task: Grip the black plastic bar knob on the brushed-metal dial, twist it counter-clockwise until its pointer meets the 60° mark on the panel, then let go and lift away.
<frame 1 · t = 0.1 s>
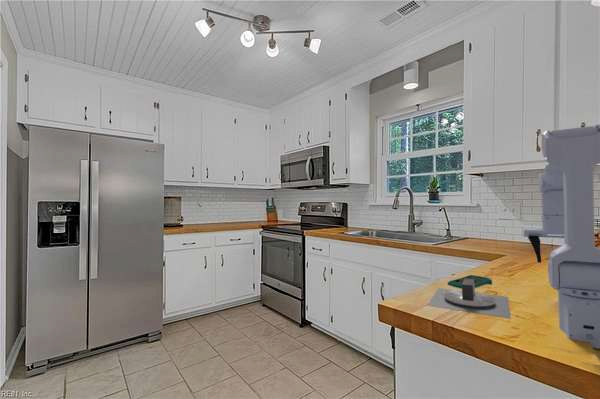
hand: (556, 263, 85), 10 cm above the countertop, fingers open, 7 cm apart
digital multimeter: (470, 288, 99), on the countertop
dial panel: (469, 305, 81), on the countertop
dial: (468, 290, 82), point 4 cm above the countertop, hinge at 0.0°
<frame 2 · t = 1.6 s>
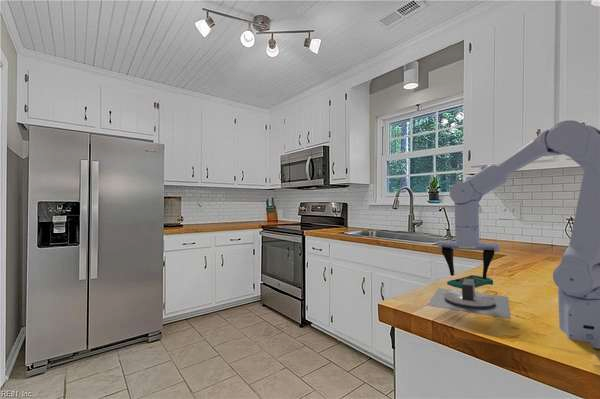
hand: (468, 276, 82), 8 cm above the countertop, fingers open, 7 cm apart
nothing on the countertop moved.
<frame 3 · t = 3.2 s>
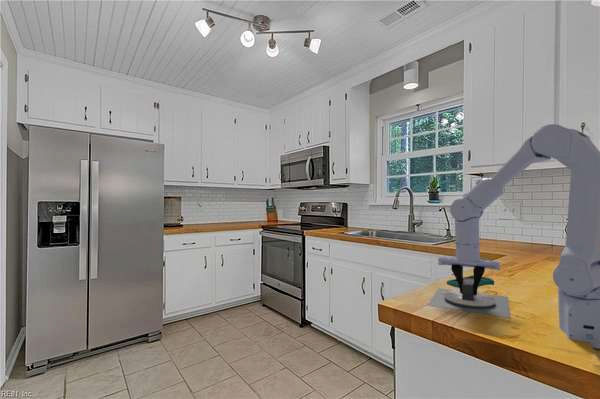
hand: (468, 293, 82), 3 cm above the countertop, fingers closed on dial, 2 cm apart
dial: (468, 290, 82), point 4 cm above the countertop, hinge at 0.0°, touching gripper
everything else where it was.
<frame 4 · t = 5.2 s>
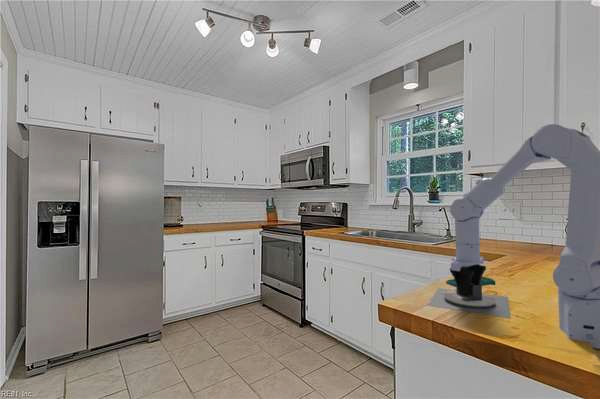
hand: (468, 293, 82), 3 cm above the countertop, fingers closed on dial, 5 cm apart
dial: (468, 290, 82), point 4 cm above the countertop, hinge at 38.7°, touching gripper
everything else where it was.
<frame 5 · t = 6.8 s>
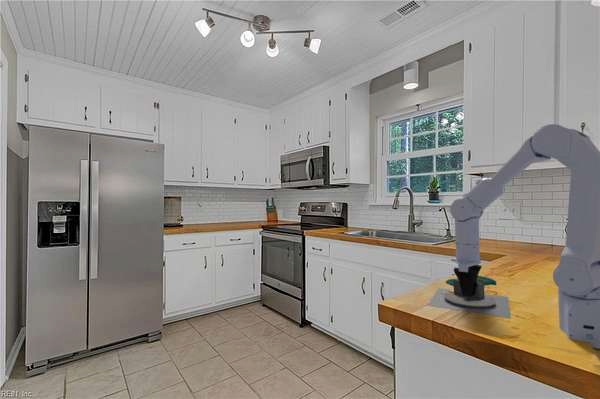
hand: (468, 293, 82), 3 cm above the countertop, fingers closed on dial, 4 cm apart
dial: (468, 290, 82), point 4 cm above the countertop, hinge at 62.6°, touching gripper
everything else where it was.
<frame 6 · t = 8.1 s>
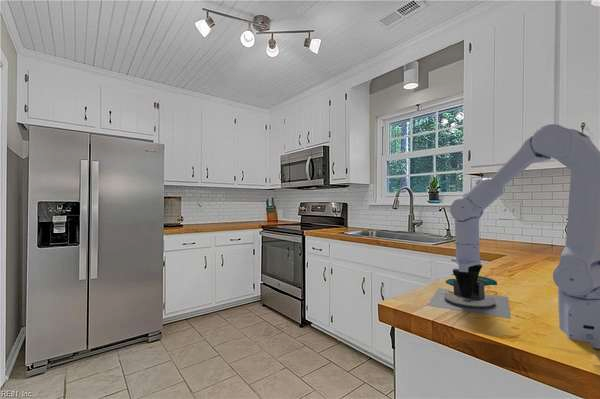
hand: (468, 293, 82), 3 cm above the countertop, fingers open, 7 cm apart
dial: (468, 290, 82), point 4 cm above the countertop, hinge at 63.2°
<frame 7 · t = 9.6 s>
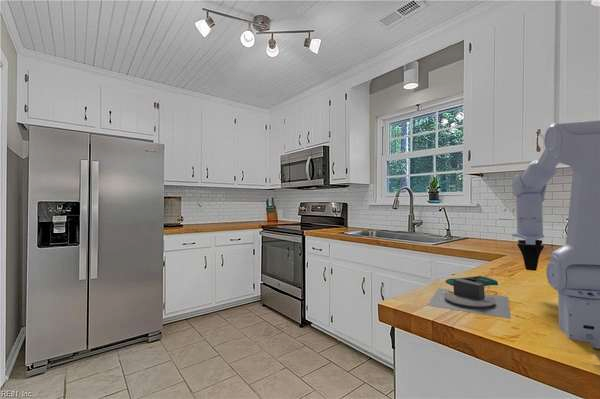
hand: (530, 267, 83), 9 cm above the countertop, fingers open, 7 cm apart
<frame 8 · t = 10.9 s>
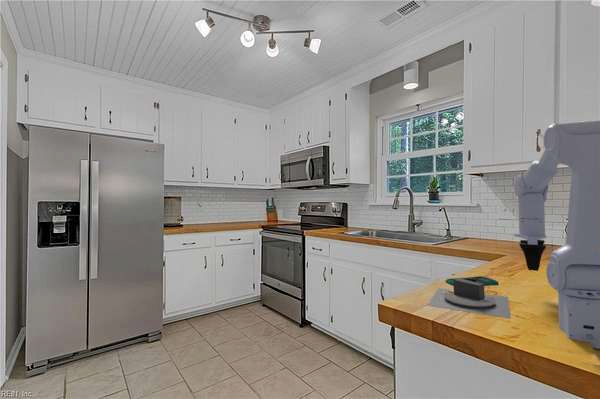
hand: (533, 267, 83), 9 cm above the countertop, fingers open, 7 cm apart
at the end: dial at +63° (first picture: +0°) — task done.
